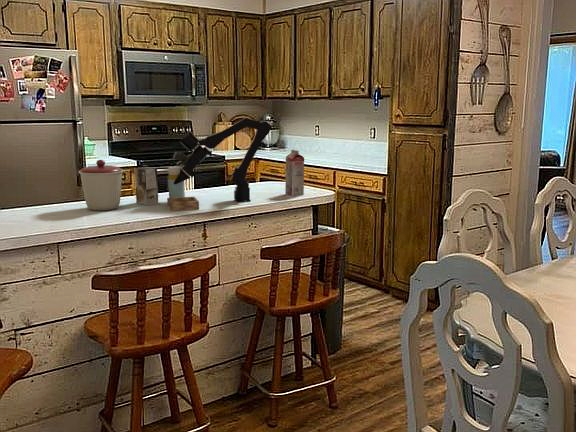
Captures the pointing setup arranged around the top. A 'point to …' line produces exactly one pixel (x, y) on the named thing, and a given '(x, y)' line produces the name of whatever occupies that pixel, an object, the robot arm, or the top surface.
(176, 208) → the caddy
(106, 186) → the canister
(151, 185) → the coffee box
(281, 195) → the top surface
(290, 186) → the juice carton
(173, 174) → the bottle
